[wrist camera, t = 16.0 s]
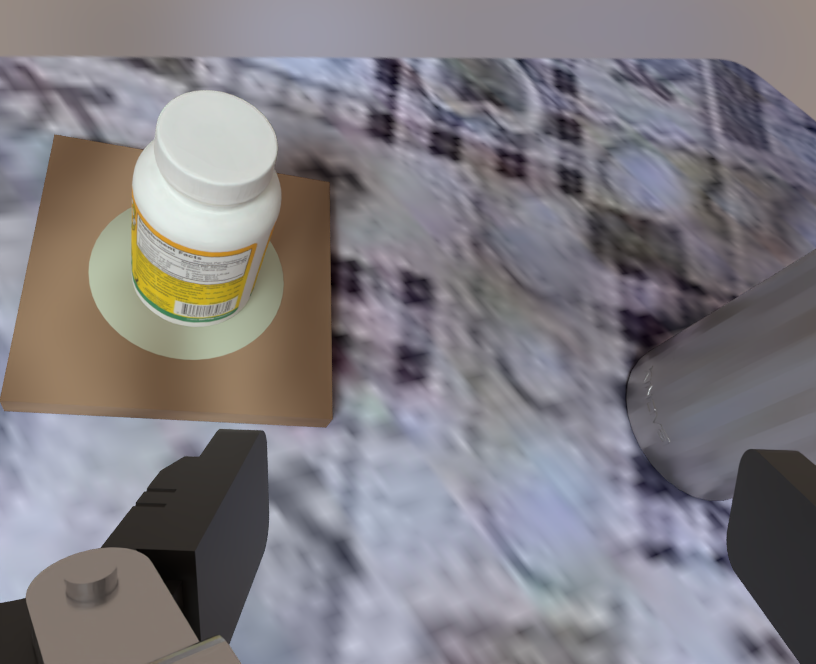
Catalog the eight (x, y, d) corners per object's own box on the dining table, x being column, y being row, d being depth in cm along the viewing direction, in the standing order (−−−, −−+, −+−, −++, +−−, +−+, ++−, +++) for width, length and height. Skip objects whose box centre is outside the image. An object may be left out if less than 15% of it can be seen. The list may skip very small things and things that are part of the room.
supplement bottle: (200, 353, 30) (228, 233, 21) (102, 276, 29) (93, 126, 21) (277, 276, 32) (327, 144, 24) (188, 206, 32) (209, 50, 24)
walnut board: (324, 195, 37) (329, 181, 36) (326, 427, 31) (332, 419, 30) (56, 151, 33) (54, 133, 32) (4, 410, 27) (-1, 400, 26)
